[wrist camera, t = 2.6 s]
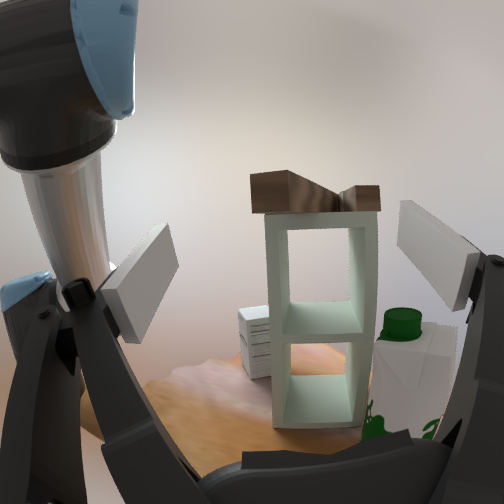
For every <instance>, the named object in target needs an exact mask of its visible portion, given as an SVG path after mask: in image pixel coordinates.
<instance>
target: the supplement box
mask: <svg viewBox="0 0 504 504" xmlns="http://www.w3.org/2000/svg"><path fill="white" fill-rule="evenodd" d="M238 319H239V333H240V347H241V359H242V364H243V366H244V367H245V369H246V371H247V373H248V375H249V377H250V379H257V378H262V377H267V376H271V353H270V327H269V305H263V306H257V307H249V308H242V309H238Z"/></svg>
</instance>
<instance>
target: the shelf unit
mask: <svg viewBox="0 0 504 504" xmlns="http://www.w3.org/2000/svg"><path fill="white" fill-rule="evenodd" d="M264 218H265V219H264V220H265V239H266V259H267V278H268V303H269V327H270V353H271V382H272V416H273V428H294V429H319V428H344V427H358V426H361V424H362V419H363V414H364V409H365V403H366V397H367V391H368V385H369V378H370V371H371V362H372V354H373V345H374V334H375V322H376V307H377V285H378V228H377V227H378V225H377V211H361V212H325V213H299V214H277V215H264ZM323 228H324V229H326V228H349V229H348V231H349V301H331V302H290V290H289V260H288V236H287V230H299V229H323ZM340 342H347V348H346V361H345V373H344V374H341V375H291V344H302V343H340Z"/></svg>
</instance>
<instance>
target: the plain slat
mask: <svg viewBox="0 0 504 504" xmlns="http://www.w3.org/2000/svg"><path fill="white" fill-rule="evenodd" d="M250 184H251V203H252V213H264V214H299V213H325V212H338V204H337V195H338V194H336V193H334V192H332V191H330V190H328V189H326V188H324V187H322V186H320V185H318V184H316V183H314V182H312V181H310V180H308V179H306V178H303V177H302V176H299V175H297V174H295V173H293V172H291V171H288V170H283V171H273V172H265V173H257V174H250Z"/></svg>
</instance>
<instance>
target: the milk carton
mask: <svg viewBox="0 0 504 504" xmlns="http://www.w3.org/2000/svg"><path fill="white" fill-rule="evenodd" d="M421 318H422V313H421V312H420V311H418V310H416V309H412V308H403V307H402V308H392V309H389V310H387V311H386V312H385V314H384V324H383V329H382V331H381V333H380V337H378V339H377V340H376V342H375V343H374V345H373V372H372V379H371V386H370V392H369V398H368V404H367V409H366V415H365V420H364V425H363V430H362V434H361V440H360V443H361V442H363V441H366V440H368V439H370V438H373V437H377V436H382V435H386V434H390V433H394V432H397V431H401V430H404V429H409V433H410V436H411V438H423V439H429V440H432V438H433V436H434V434H435V432H436V429H437V426H438V424H439V421H440V418H441V416H442V413H443V410H444V406H445V404H446V401H447V398H448V394H449V391H450V387H451V382H452V377H453V372H454V366H455V357H456V345H457V329H458V327H455V326H446V325H437V323H431V322H428V323H426V322H421V320H422V319H421Z"/></svg>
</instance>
